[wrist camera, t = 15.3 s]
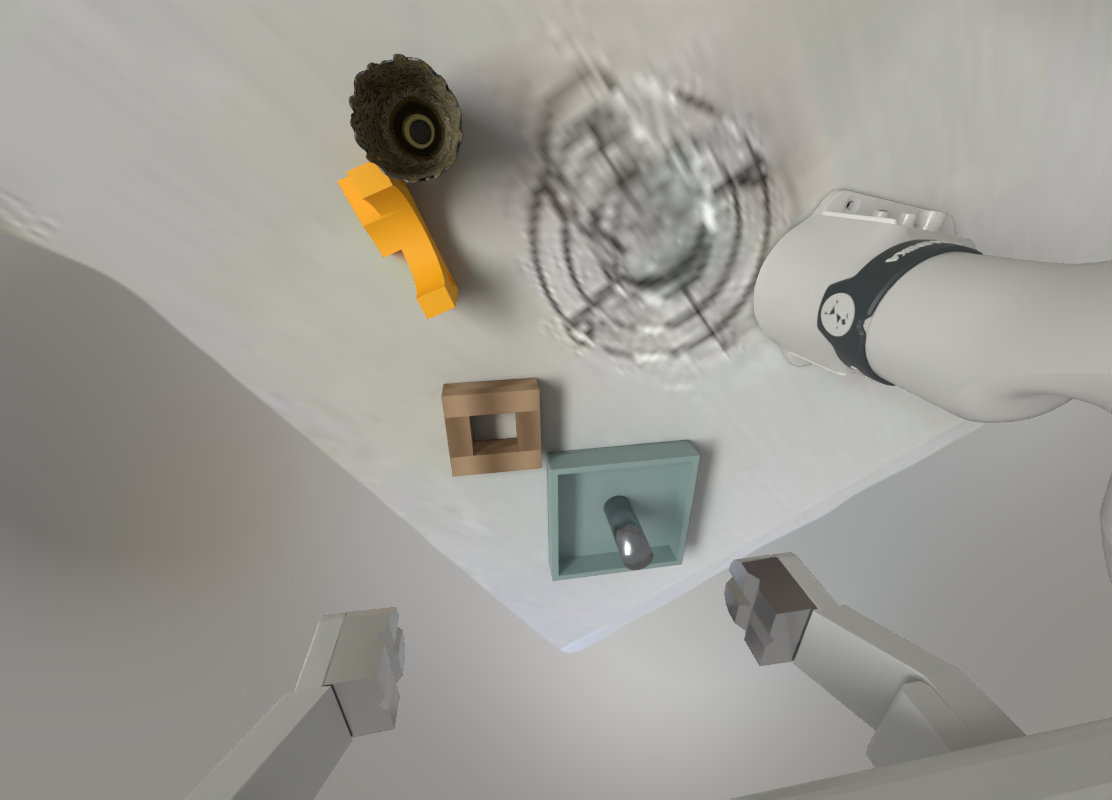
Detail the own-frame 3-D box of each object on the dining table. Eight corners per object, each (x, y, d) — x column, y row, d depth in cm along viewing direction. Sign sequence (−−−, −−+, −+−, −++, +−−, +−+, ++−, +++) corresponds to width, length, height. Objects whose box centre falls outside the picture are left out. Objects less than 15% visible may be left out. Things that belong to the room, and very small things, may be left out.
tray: (688, 439, 56) (700, 455, 53) (672, 545, 64) (681, 564, 61) (546, 452, 53) (550, 469, 50) (549, 560, 62) (552, 581, 59)
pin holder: (536, 377, 49) (539, 389, 46) (538, 453, 53) (541, 468, 51) (443, 384, 47) (441, 396, 45) (454, 461, 52) (452, 476, 49)
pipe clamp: (347, 180, 38) (324, 181, 32) (393, 160, 38) (378, 157, 32) (418, 307, 44) (409, 327, 38) (458, 289, 43) (455, 307, 38)
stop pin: (631, 494, 58) (654, 545, 50) (629, 515, 59) (652, 567, 51) (604, 496, 57) (624, 548, 49) (602, 518, 59) (622, 571, 51)
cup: (450, 69, 35) (443, 42, 28) (476, 170, 39) (475, 169, 32) (358, 89, 35) (328, 67, 28) (393, 189, 39) (374, 193, 32)
